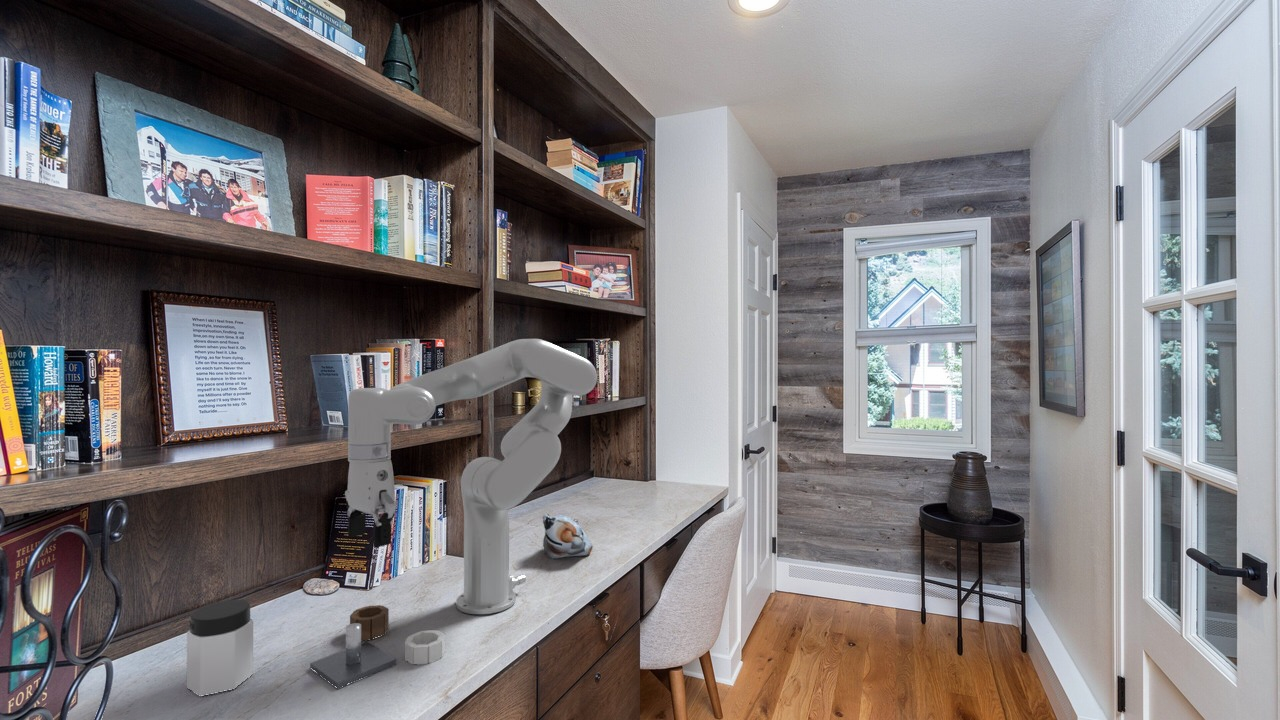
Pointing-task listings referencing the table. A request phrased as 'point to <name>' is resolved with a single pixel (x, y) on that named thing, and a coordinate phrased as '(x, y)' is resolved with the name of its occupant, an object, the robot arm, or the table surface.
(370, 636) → the brown angular block
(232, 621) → the jar
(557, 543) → the lucky cat figurine
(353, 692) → the table surface
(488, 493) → the robot arm
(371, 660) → the post
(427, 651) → the collar
